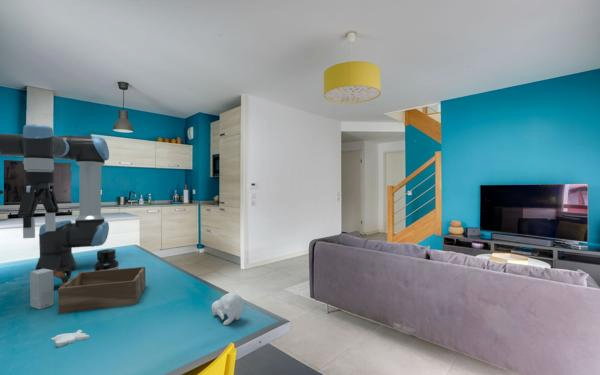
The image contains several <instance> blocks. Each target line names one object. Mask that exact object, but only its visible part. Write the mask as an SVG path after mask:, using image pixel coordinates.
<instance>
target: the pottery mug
mask: <svg viewBox="0 0 600 375" xmlns="http://www.w3.org/2000/svg"><path fill="white" fill-rule="evenodd" d="M71 276H72V271H70V270H69V269H64V270H63V271H61V272H59V271H57V270H56V269H55V270H53V277H55V278H57V279H60V280H61V282H62V283H61V284H59V288H60V287H61V286H62V285H64V284H65V283H66V282H68V281H69V280H70V279H71Z"/></svg>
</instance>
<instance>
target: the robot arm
mask: <svg viewBox="0 0 600 375" xmlns="http://www.w3.org/2000/svg"><path fill="white" fill-rule="evenodd" d="M53 129H54V128H53V127H51V126H49V125H45V124H44V125H43V124H35V123H34V124H33V123H29V124H25V125H24V126H23V128H22V130H23V131H22V134H13V133H0V156H23V161H22V164H23V170H25V171H24V173H23V182H24V183H25V184H29V185H24V186H23V190H22V197H21V200H20V204H19V207H18V212H17V217H18V219H19V218H20V219H22V238H23V239H35V238H36V221H35V220H36V217H35V216H34V215H35V213H36V209H37V207H38V204H39V202H40V201H41V203H42V205H43V207H44V210H45V212H46V213H44V224H41V226H39V231H38V232H39V234H38V239H39V240H38V241H39V242H38V243H39V245H38V247H39V258H38V259H37V263H36V265H35V268H34V271H35V270H40V269H49V270H55V269H56V270H57V271H59V272H61V271H63V270H64V269H69V270H70V271H71V272H72V271H74V270H76V269H77V262H76V259H75V257H74V254H73V250H72V249H73V248H74V249H75V248H83V247H84V248H85V247H86V248H87V247H90V248H91V247H92V248H93V247H99V246H103V245H104V244H105V243H106V241H107V240H108V236H109V231H110V224H109V222H108V221H105V217H104V216H103V215H102V214H101V213H102V203H101V202H102V194H101V193H102V167H103V166H104V165H105V161H108V160H110V151H109V146H108V144H107V143H108V142H107V141H106V140H105V138H104V137H101V136H95V135H71V134H70V135H55V134H54V130H53ZM55 158H56V159H63V160H73V161H74V160H75V164H76V165H77V166H79V198H78V199H79V206H78V207H79V210H78V211H79V216H78V217H76V218H75V220H74V221H75V222H73V221H72V220H70V219H69V220H67V219H66V220H59V221H56V213H59V206H58V202H57V198H56V195H55V186H54V185H49V184H54V182H55V174H54V172H53V171H54V170H55Z"/></svg>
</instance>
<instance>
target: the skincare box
mask: <svg viewBox="0 0 600 375" xmlns="http://www.w3.org/2000/svg"><path fill="white" fill-rule="evenodd" d="M54 286H55V284H54V275H53V270H49V269H40V270H35V269H34V270H31V271H30V270H29V291H30V292H29V294H30V297H29V298H30V300H29V301H30V307H31V308H34V309H36V310H42V309H45V308H49V307H51V306H54V304H55V297H54V296H55V293H54V289H55V287H54Z"/></svg>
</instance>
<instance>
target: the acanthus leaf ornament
mask: <svg viewBox="0 0 600 375" xmlns="http://www.w3.org/2000/svg"><path fill="white" fill-rule="evenodd" d="M90 338H91V337H90V335H89V334H87V333H86V332H85V333H84V332H83V329H82V330H81V329H78V330H76V332H70V333H61V334H57V335H56V336H53V337H51V338H50V341H53V342H54V344H55V346H56V347H57V348H60V347H63V346H66V345H67V344H72V343H74V342H76V341H85V340H88V339H89V340H90Z"/></svg>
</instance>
